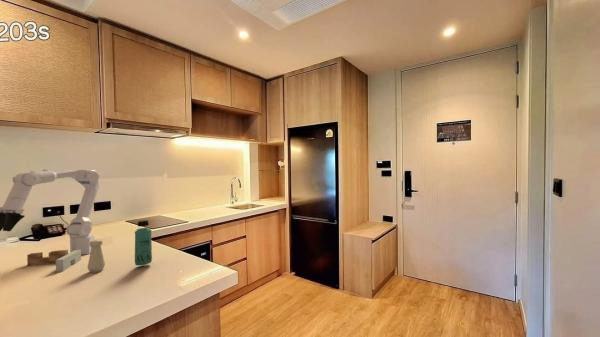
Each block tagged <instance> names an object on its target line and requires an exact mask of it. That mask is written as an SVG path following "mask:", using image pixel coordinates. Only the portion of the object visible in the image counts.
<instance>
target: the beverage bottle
mask: <svg viewBox="0 0 600 337" xmlns="http://www.w3.org/2000/svg"><path fill="white" fill-rule="evenodd" d="M149 225H150V223H149V220H147V219H146V220H139V221H138V222H137V227H138V228H137V229H136V230H135V231H134V264H135V265H134V266H145V265H149V264H151V263H152V260H153V253H152V248H153V246H152V245H153V244H152V242H153V241H152V229H151V228H149V227H147V226H149Z"/></svg>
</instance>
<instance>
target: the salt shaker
mask: <svg viewBox="0 0 600 337" xmlns="http://www.w3.org/2000/svg"><path fill="white" fill-rule="evenodd" d="M102 245H103V240H102V239H94V240H93V241H91V242H90V247H91V252H90V253H89V258H88V263H87V270H88V271H89V273H91V274H95V273H100V272H102V271H103V270H104V268H105V265H106V263H105V259H104V254H103V251H102V250H103V249H102Z"/></svg>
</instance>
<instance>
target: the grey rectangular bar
mask: <svg viewBox="0 0 600 337" xmlns="http://www.w3.org/2000/svg"><path fill="white" fill-rule="evenodd" d="M81 260H82V255H81V250H74V251H72V252H70V251H69V252H68V254H67V255H65V256H63V257H61V258H59V259H57V260H56V263H55V272H56V273H60V272H64V271H66V270H68V269H69V268H71V267H72V266H71V265H76V264H78V263H79V262H80V261H81Z"/></svg>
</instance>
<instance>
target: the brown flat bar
mask: <svg viewBox="0 0 600 337" xmlns="http://www.w3.org/2000/svg"><path fill="white" fill-rule="evenodd" d="M43 253H44V252H43V251H42V252H31V253H28V254H27V258H26V260H27V261H26V262H27V265H26V266H28V267H29V266H37V264H40V265H47V264H46V263H49V264H56V260H57V259H59V258H61V257H63V256H65V255H67V254H69V249H61V250H60V249H59V250H52V251H50V252H48V256H43V255H44V254H43Z"/></svg>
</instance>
